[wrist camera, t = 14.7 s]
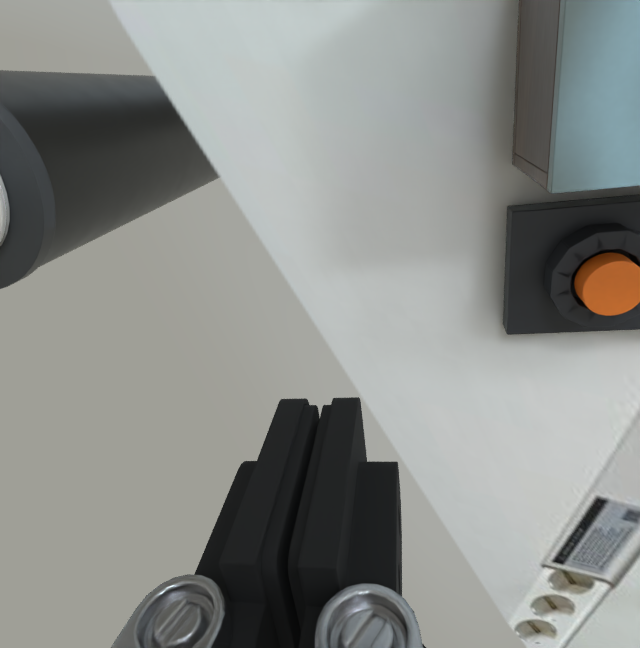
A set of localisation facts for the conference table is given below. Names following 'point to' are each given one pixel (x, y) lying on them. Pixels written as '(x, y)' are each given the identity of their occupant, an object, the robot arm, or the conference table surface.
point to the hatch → (596, 97)
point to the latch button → (608, 284)
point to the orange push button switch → (564, 262)
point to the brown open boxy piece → (535, 86)
